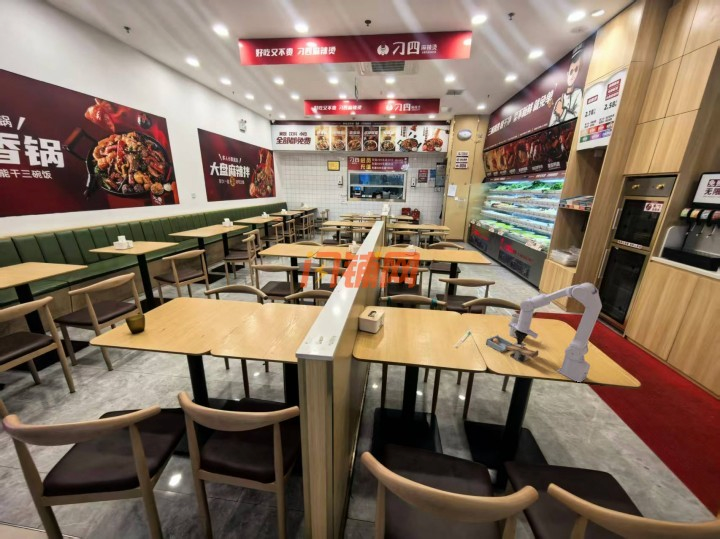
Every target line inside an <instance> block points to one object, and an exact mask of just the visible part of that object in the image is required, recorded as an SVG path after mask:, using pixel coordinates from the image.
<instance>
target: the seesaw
mask: <svg viewBox="0 0 720 539" xmlns="http://www.w3.org/2000/svg"><path fill="white" fill-rule="evenodd" d="M526 346H527V344H526V343H525V342H522V344H520V345H519V344H517V341H516V342H515V343H513V344H510V345H509V346H505V349H508V350H509V351H511V352H514V353H515V351H516V350H518V351H520V354H523V355H526V356H527V357H529V358H532V359H534V358H536V357H538V356H539V350H532V349H529V348H528V349H526V348H527V347H526ZM523 347H526V348H523ZM508 350H507V351H508Z"/></svg>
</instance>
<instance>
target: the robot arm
mask: <svg viewBox="0 0 720 539" xmlns="http://www.w3.org/2000/svg"><path fill="white" fill-rule="evenodd" d="M599 292H600V291H599V289H597V287H596V286H595V285H594V284H593V283H590V282H582V283H581V284H579V283H578V284H575V285H571V286H567V287H564V288H562V289H559V290H556V291H555V292H551V293H548V294H547V293H542V292H540V293H537V294H536V295H535V296H530V297H528V298H527V299H525V300H522V301H521V302H520V304H519V307H520V311H519V314H520V315H519V320H518V324H515V323H512V322H508V324H507V325H508V327H509V328H510V327H513V328H515V329H517V330H516V331H515V334H516V337H517V338H516V342H517V344H519V345H520V344H522V343H524V340H525V339H526V338H527V337H528V336H530V337H532V338H533V339H537V338H538V336H539V334H538V333H536V332H534V330H532V329H531V328H530V327H531V323H532V321H533V320H532V319H533V316H534V311H535V309H539V308H542V307H546V306H549V305H550V304H551V301H555V300H557V299H561V298H564V297H568V298H574V299H575V300H577V301H578V302H579V303H581V304H582V305H583V306H584V308H585V309H584V312H583V314H582V317H581V319H580V322H579V324H578V326H577V329H576V333H575V334H574V338H572V341H571V342H570V344H569V345H568V346H567V347H565V350H564V358H563V361H562V364H561V367H560V368H558V369H557V370H556V372H557V373H559V374H561V375H563V376H565V377H567V378H569V379H571V380H573V381H575V382H576V381H577V383H578V382H580V383H581V382H583V381H584V380H585V379H587V378H588V375H589V370H590V368H591V364H590V363H588V362H587V361H586V360H585V355H587V353H588V352H589V339H590V336H591V334H592V332H593V330H594V327H595V325H596V321H597V320H598V317H599V315H600V312H601V310H602V307H603V305H602V301H601V298H600V294H599Z"/></svg>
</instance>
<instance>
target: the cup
mask: <svg viewBox="0 0 720 539" xmlns="http://www.w3.org/2000/svg"><path fill="white" fill-rule="evenodd" d="M519 315H520V313H511V314H510V322H512V323H515V324H518V320H519ZM510 322H509V323H510ZM516 330H517V329H515V328H513V327H509V330H508V335H509V336H510V337H513V338H516V339H517V337H516V334H515V331H516Z"/></svg>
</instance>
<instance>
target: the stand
mask: <svg viewBox="0 0 720 539" xmlns="http://www.w3.org/2000/svg"><path fill="white" fill-rule="evenodd" d="M523 348H526V349H529V348H528V347H526V346H523ZM509 357H510V358H511V359H513V360H516V361H517V362H519V363H520V364H522V363H524V362H526V361H528V360H530V358H531V357H529V356H526V355H523V354H520V351H518V350H516V351H515V352H514V353H513V354H511V355H510V356H509Z"/></svg>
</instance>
